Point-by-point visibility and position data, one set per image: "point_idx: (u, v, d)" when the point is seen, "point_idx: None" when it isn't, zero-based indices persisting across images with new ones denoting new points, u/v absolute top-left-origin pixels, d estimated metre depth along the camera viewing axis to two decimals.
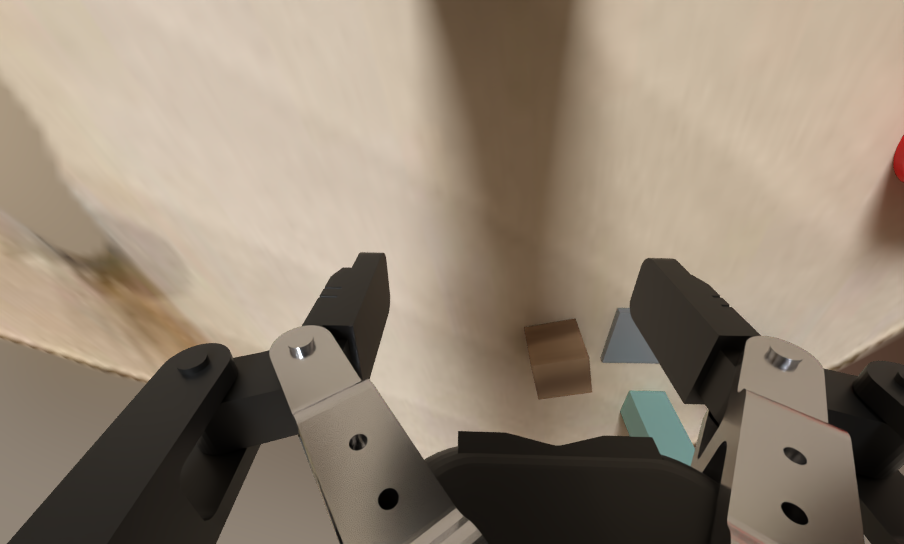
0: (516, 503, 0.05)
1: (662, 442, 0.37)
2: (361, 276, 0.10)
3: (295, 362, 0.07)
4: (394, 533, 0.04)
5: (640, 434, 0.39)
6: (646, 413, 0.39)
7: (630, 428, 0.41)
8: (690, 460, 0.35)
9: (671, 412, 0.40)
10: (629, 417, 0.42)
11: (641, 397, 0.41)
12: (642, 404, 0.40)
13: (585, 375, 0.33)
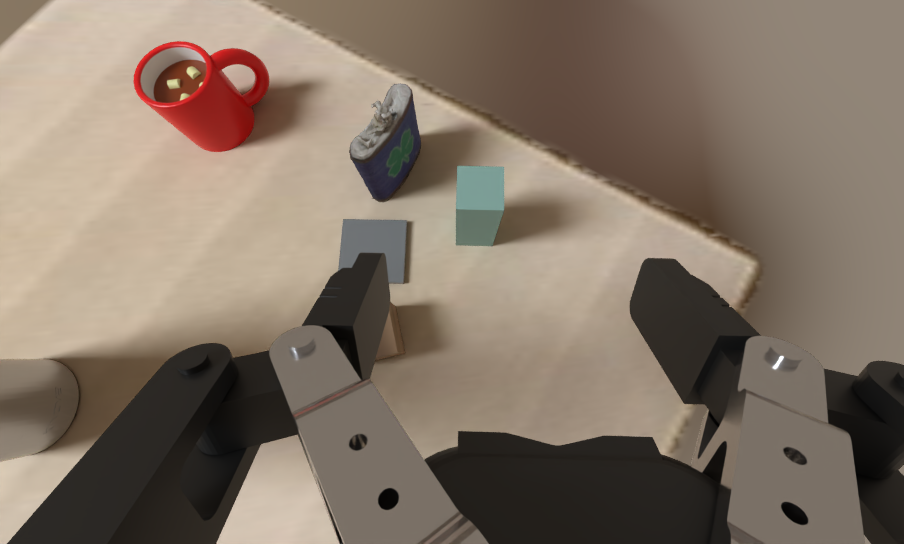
0: (516, 503, 0.05)
1: None
2: (361, 276, 0.10)
3: (295, 362, 0.07)
4: (395, 533, 0.04)
5: (471, 232, 0.36)
6: None
7: (486, 238, 0.37)
8: None
9: None
10: (477, 240, 0.38)
11: None
12: None
13: None
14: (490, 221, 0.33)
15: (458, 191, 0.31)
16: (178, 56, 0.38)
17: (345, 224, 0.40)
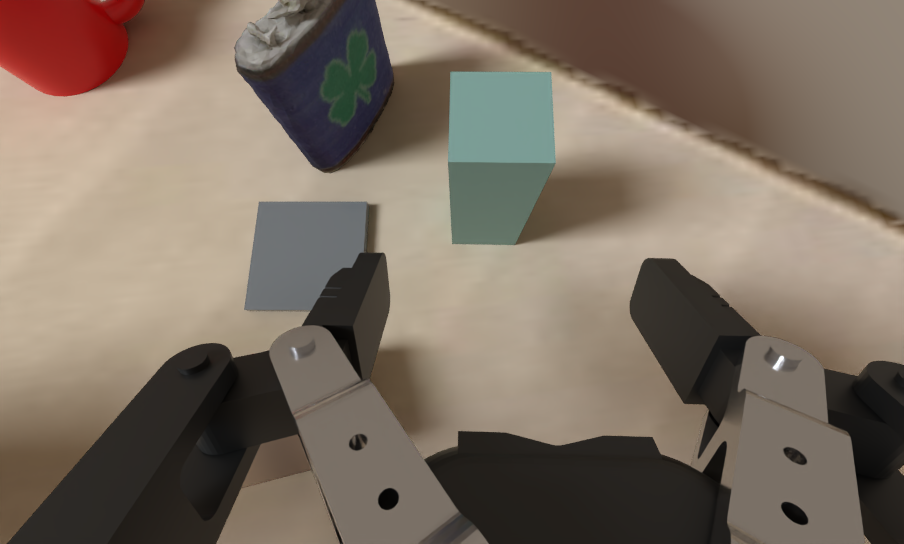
0: (516, 503, 0.05)
1: None
2: (361, 276, 0.10)
3: (295, 362, 0.07)
4: (394, 534, 0.04)
5: (479, 218, 0.19)
6: None
7: (506, 230, 0.21)
8: None
9: None
10: (490, 234, 0.21)
11: None
12: None
13: None
14: (519, 193, 0.16)
15: (453, 123, 0.14)
16: None
17: (262, 210, 0.23)
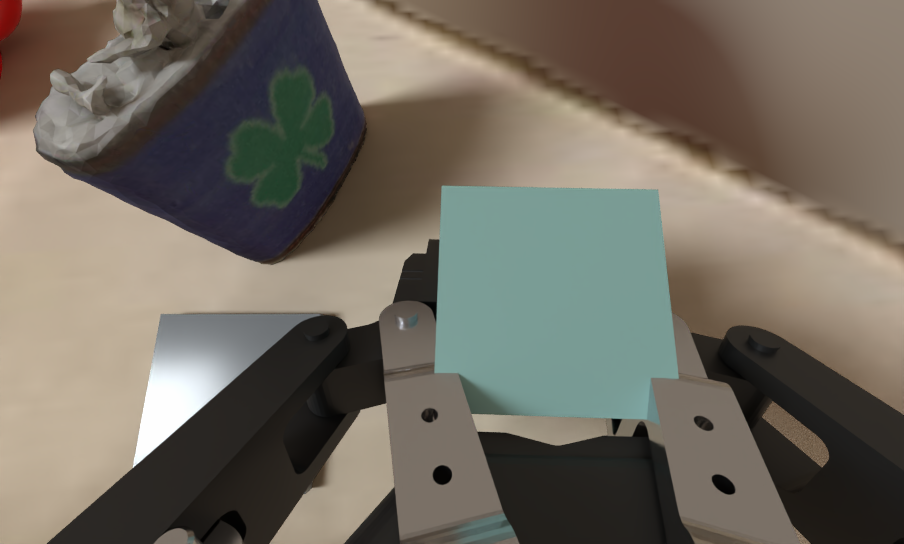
0: (516, 503, 0.05)
1: None
2: (438, 260, 0.10)
3: (407, 331, 0.08)
4: (439, 508, 0.04)
5: None
6: None
7: None
8: None
9: None
10: None
11: None
12: None
13: None
14: None
15: (445, 313, 0.06)
16: None
17: (165, 328, 0.16)
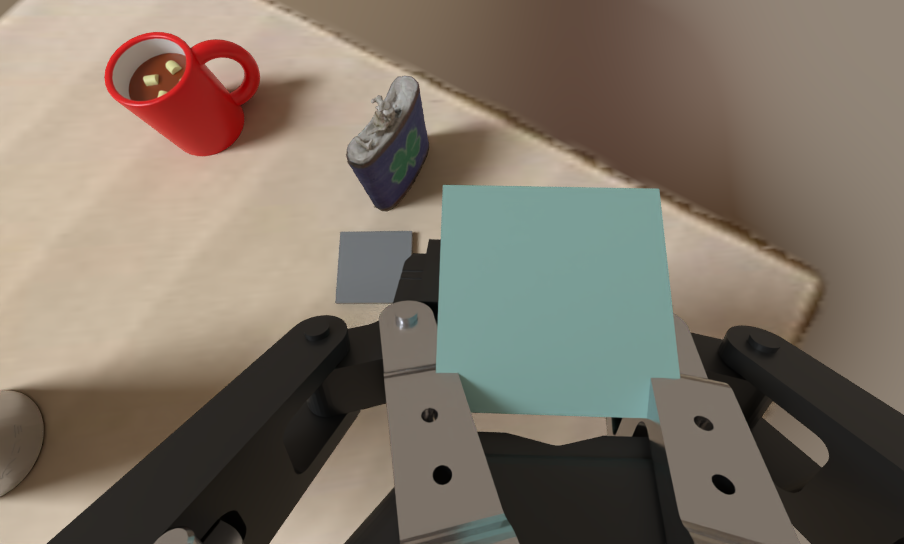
0: (516, 503, 0.05)
1: None
2: (438, 260, 0.10)
3: (407, 331, 0.08)
4: (439, 508, 0.04)
5: None
6: None
7: None
8: None
9: None
10: None
11: None
12: None
13: None
14: None
15: (447, 312, 0.06)
16: (156, 49, 0.34)
17: (343, 237, 0.35)
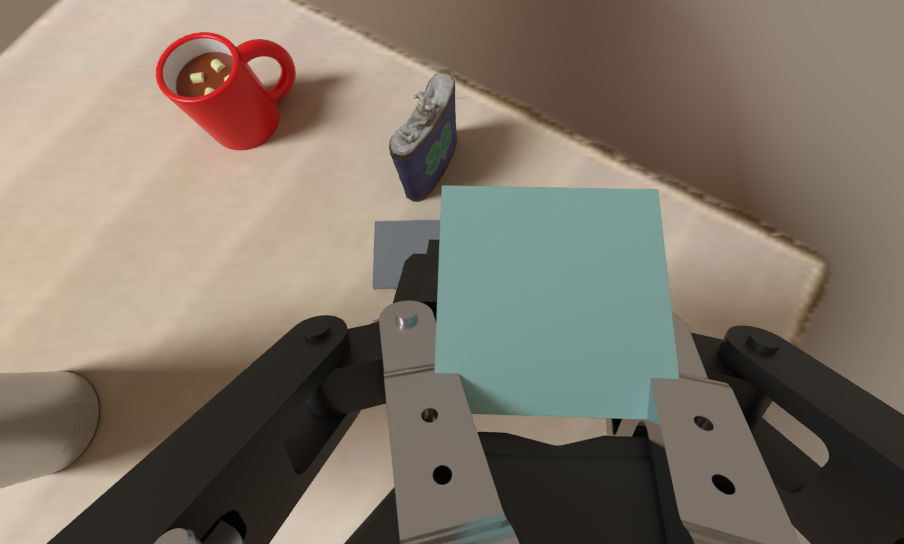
0: (516, 503, 0.05)
1: None
2: (438, 260, 0.10)
3: (406, 331, 0.08)
4: (439, 507, 0.04)
5: None
6: None
7: None
8: None
9: None
10: None
11: None
12: None
13: None
14: None
15: (446, 313, 0.06)
16: (202, 48, 0.36)
17: (377, 227, 0.38)
